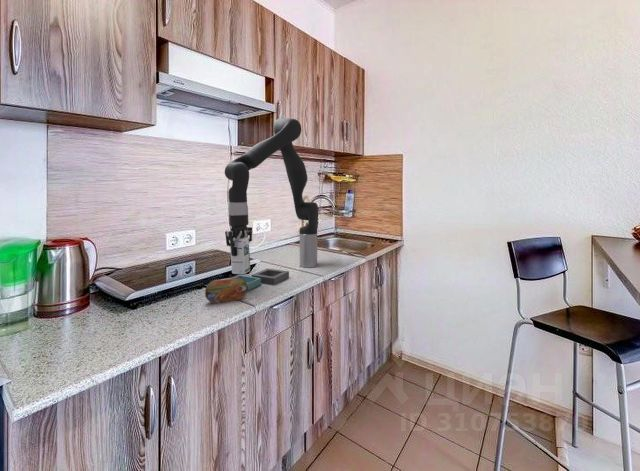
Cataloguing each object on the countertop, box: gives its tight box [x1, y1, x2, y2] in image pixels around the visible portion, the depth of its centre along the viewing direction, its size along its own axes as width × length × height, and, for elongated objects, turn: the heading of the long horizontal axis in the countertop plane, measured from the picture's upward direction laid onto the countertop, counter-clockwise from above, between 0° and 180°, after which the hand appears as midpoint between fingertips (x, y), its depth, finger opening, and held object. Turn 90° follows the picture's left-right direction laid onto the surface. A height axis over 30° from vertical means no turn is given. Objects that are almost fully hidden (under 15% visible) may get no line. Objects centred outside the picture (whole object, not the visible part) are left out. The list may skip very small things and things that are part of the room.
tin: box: [204, 276, 249, 304], centre depth 114 cm, size 15×3×8 cm, turn 114°
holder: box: [250, 268, 290, 286], centre depth 140 cm, size 12×12×3 cm
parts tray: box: [232, 274, 262, 292], centre depth 129 cm, size 12×12×3 cm
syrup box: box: [229, 236, 251, 275], centre depth 127 cm, size 6×6×14 cm
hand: (240, 254), depth 127 cm, fingers closed on syrup box, 6 cm apart
